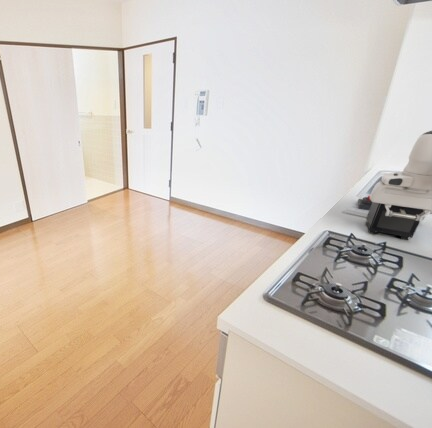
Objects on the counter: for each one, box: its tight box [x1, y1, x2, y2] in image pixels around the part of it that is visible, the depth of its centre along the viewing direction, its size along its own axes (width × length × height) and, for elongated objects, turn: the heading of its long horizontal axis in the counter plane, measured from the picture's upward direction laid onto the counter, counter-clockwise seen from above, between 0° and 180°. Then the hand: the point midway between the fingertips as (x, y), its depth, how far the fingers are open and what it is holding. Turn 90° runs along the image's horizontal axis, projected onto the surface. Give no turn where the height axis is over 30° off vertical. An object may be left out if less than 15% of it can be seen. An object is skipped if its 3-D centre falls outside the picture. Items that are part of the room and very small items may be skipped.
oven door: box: [370, 203, 424, 239], centre depth 101 cm, size 7×12×12 cm, turn 54°
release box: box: [356, 196, 372, 211], centre depth 130 cm, size 8×8×4 cm
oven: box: [365, 202, 410, 241], centre depth 108 cm, size 12×12×14 cm
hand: (402, 218), depth 97 cm, fingers closed on oven door, 6 cm apart
